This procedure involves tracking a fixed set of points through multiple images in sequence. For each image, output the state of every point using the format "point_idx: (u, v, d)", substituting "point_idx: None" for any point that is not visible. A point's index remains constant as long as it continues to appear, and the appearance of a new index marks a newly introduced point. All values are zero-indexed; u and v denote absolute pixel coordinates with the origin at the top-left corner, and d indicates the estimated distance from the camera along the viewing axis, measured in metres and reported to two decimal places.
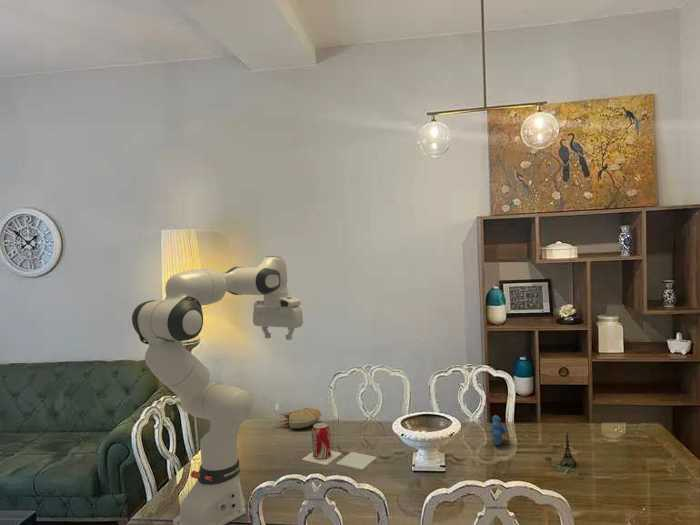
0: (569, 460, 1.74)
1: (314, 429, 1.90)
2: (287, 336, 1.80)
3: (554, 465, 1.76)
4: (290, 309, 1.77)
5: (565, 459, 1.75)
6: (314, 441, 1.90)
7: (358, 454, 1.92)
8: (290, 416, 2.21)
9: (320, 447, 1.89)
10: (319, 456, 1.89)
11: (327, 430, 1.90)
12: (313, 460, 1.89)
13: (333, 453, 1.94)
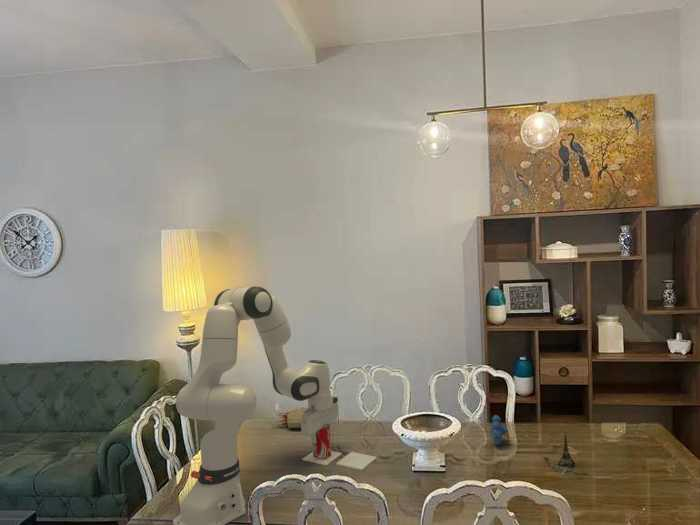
0: (567, 460, 1.74)
1: None
2: None
3: (552, 465, 1.77)
4: (336, 403, 1.97)
5: (563, 459, 1.75)
6: None
7: (358, 454, 1.92)
8: (288, 416, 2.21)
9: (320, 447, 1.89)
10: (319, 456, 1.89)
11: (327, 430, 1.90)
12: (313, 460, 1.89)
13: (333, 453, 1.94)
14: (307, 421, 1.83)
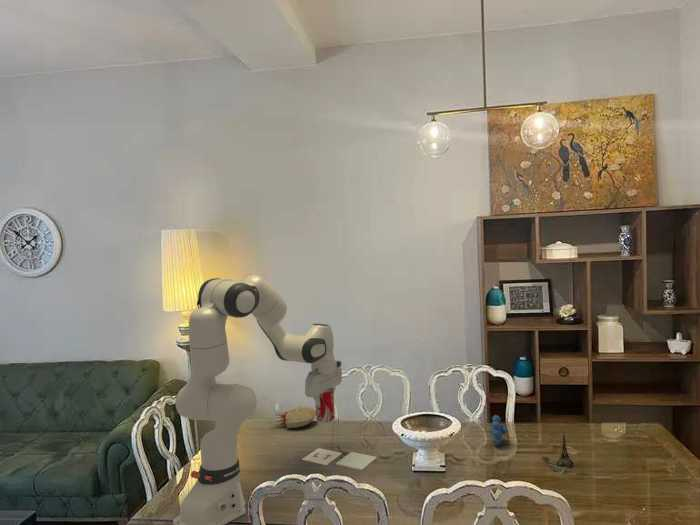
0: (566, 460, 1.74)
1: None
2: None
3: (551, 465, 1.77)
4: (340, 368, 1.96)
5: (562, 459, 1.75)
6: None
7: (358, 454, 1.92)
8: (287, 416, 2.21)
9: (324, 411, 1.87)
10: (323, 420, 1.88)
11: (331, 394, 1.89)
12: (313, 460, 1.89)
13: (333, 453, 1.94)
14: (311, 383, 1.81)
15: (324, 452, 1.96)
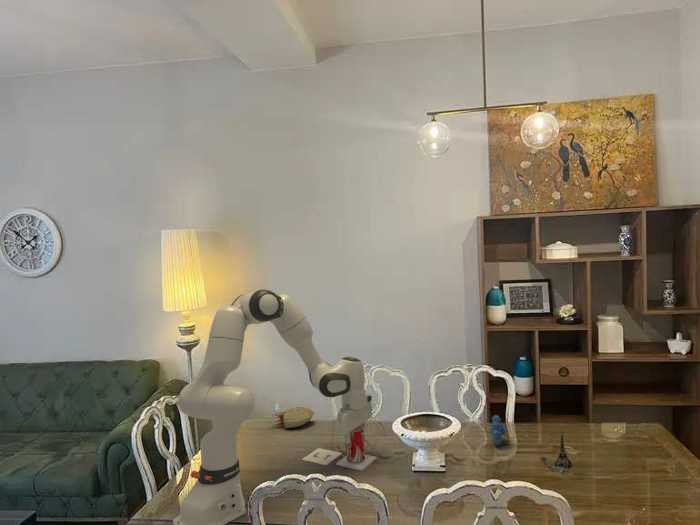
0: (564, 460, 1.74)
1: None
2: (363, 430, 1.90)
3: (549, 465, 1.77)
4: (370, 402, 1.91)
5: (560, 459, 1.75)
6: (348, 445, 1.84)
7: None
8: (284, 416, 2.21)
9: (355, 451, 1.83)
10: (353, 460, 1.83)
11: (361, 433, 1.85)
12: (313, 460, 1.89)
13: (333, 453, 1.94)
14: (343, 420, 1.77)
15: (324, 452, 1.96)
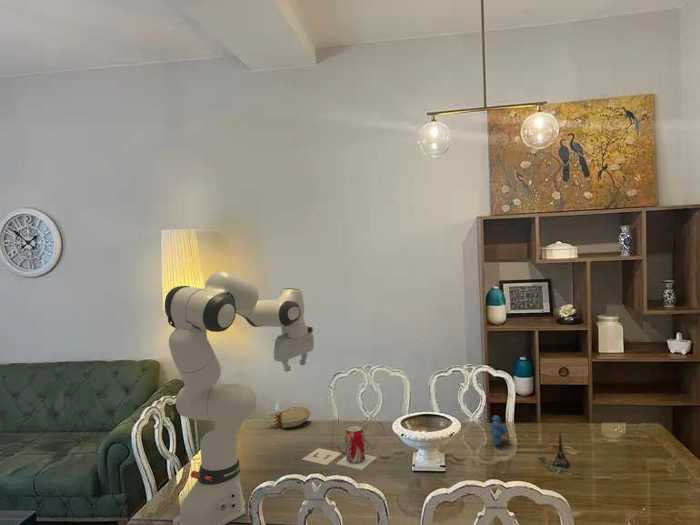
0: (562, 460, 1.75)
1: (348, 432, 1.84)
2: (304, 361, 1.92)
3: (547, 465, 1.77)
4: (311, 334, 1.94)
5: (558, 459, 1.75)
6: (348, 445, 1.84)
7: None
8: (282, 416, 2.22)
9: (355, 451, 1.83)
10: (353, 460, 1.83)
11: (361, 433, 1.84)
12: (313, 460, 1.89)
13: (333, 453, 1.94)
14: (280, 347, 1.80)
15: (324, 452, 1.96)
